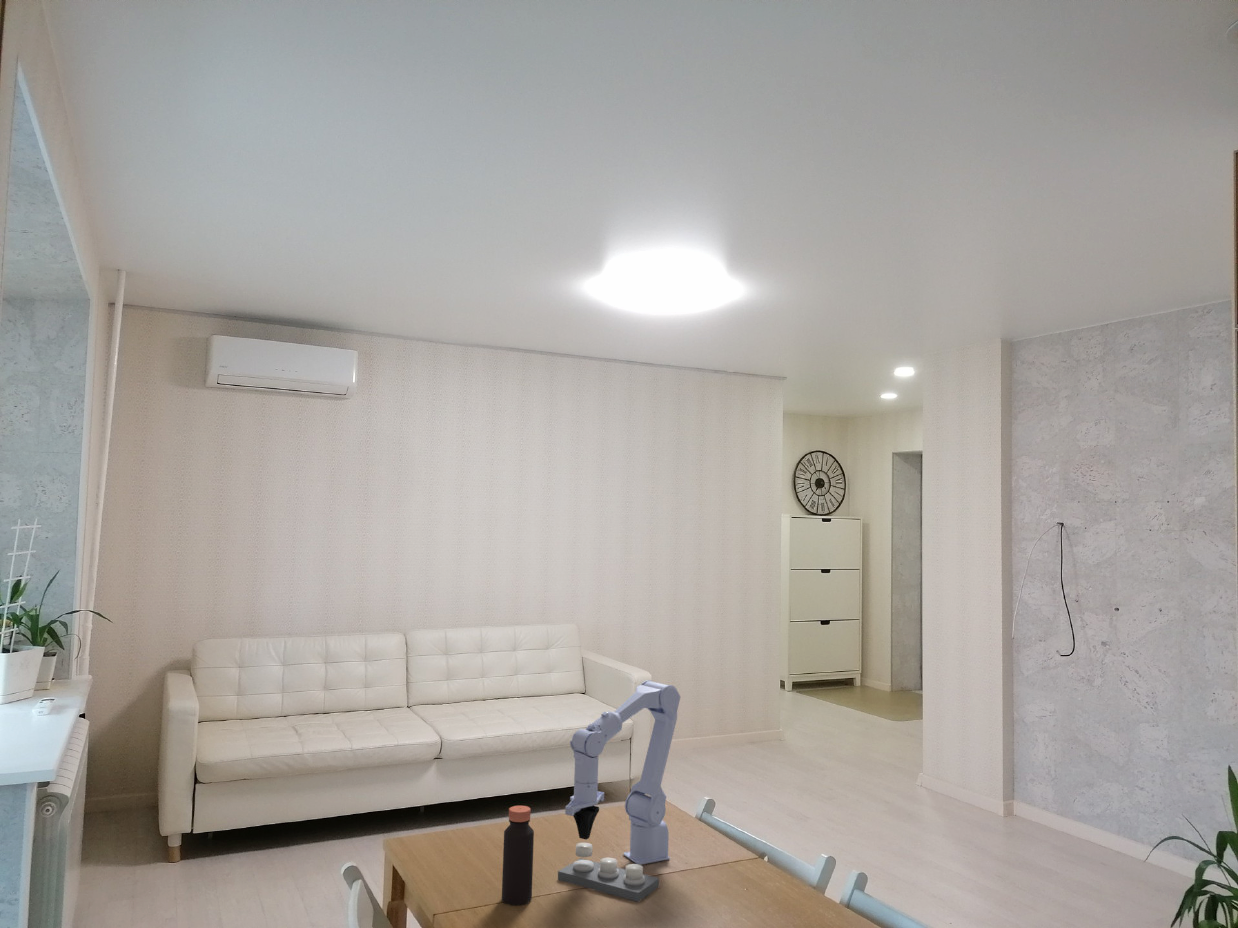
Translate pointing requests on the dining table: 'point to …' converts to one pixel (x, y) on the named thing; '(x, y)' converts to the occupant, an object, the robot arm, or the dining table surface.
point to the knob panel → (607, 880)
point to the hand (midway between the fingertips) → (584, 837)
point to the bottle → (518, 857)
